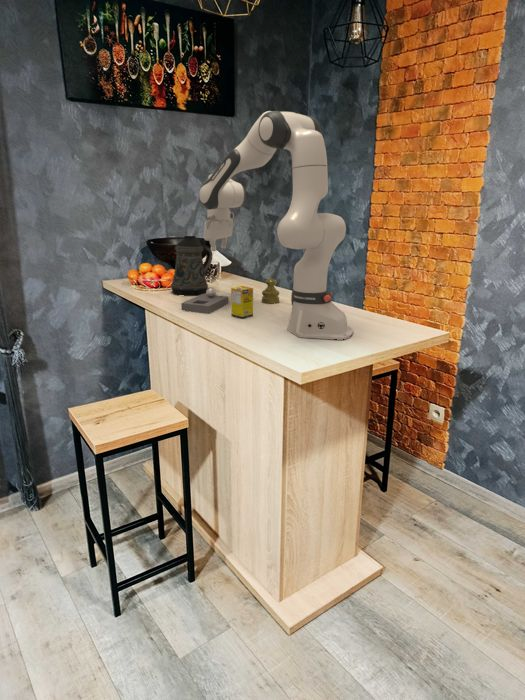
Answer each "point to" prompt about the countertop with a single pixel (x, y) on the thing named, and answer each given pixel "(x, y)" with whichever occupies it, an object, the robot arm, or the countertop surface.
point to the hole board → (205, 303)
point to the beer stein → (191, 267)
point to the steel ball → (211, 292)
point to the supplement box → (242, 302)
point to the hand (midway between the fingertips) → (218, 249)
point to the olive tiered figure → (270, 292)
